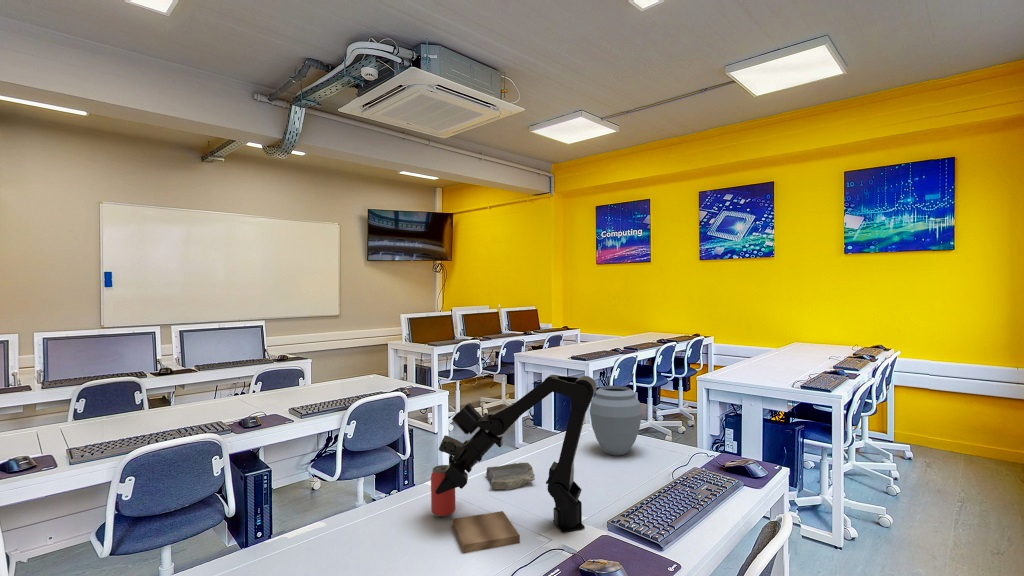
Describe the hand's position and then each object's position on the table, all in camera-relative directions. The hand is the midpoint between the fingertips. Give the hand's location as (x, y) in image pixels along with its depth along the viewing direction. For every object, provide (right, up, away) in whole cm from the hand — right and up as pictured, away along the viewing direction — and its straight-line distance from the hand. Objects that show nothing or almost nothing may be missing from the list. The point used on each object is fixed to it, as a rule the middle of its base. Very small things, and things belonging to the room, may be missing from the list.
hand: (438, 487), depth 137 cm
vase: (+60, -8, +52) cm, 79 cm away
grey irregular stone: (+20, -8, +25) cm, 33 cm away
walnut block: (+13, -8, -11) cm, 19 cm away
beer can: (+2, -7, 0) cm, 7 cm away
